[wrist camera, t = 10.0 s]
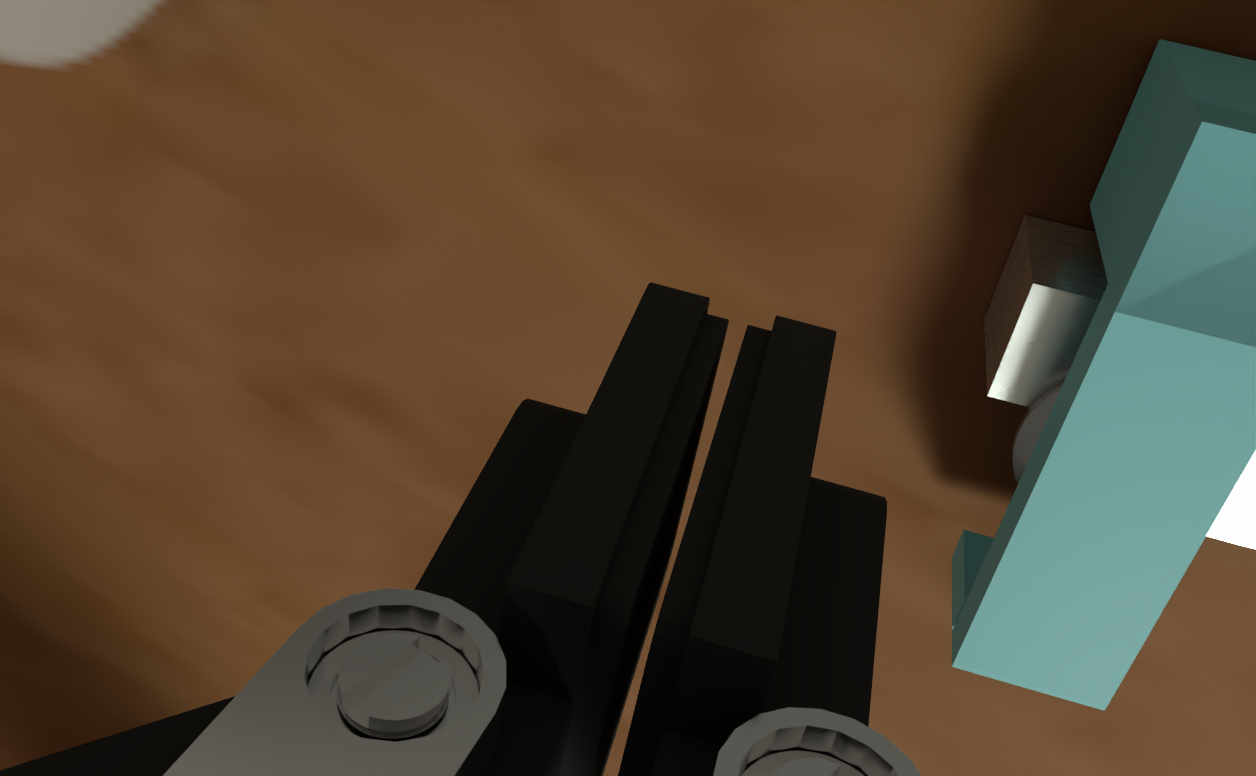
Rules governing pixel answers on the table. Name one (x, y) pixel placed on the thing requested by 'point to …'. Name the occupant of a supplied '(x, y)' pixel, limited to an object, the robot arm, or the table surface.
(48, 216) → the table surface
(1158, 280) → the teal long piece
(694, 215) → the table surface
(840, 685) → the robot arm
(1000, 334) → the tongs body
